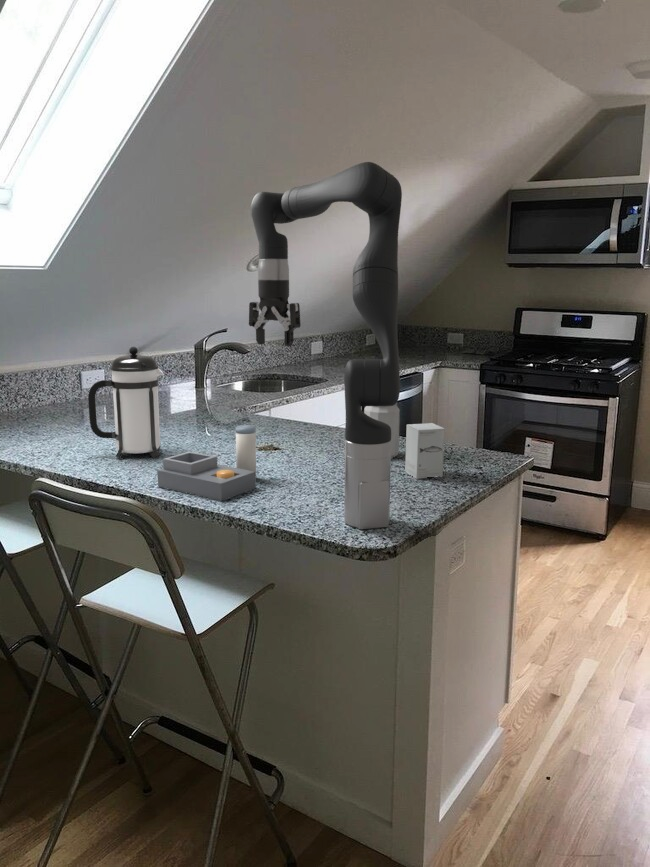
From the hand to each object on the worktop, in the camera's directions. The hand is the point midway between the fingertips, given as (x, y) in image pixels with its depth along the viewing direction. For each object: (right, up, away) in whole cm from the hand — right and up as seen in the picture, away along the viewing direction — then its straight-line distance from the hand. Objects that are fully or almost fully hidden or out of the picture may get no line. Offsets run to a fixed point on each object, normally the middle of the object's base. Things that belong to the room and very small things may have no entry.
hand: (274, 345), depth 183 cm
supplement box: (+37, -33, +3) cm, 50 cm away
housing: (-15, -35, -8) cm, 39 cm away
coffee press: (-41, -28, +23) cm, 54 cm away
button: (-10, -35, -12) cm, 38 cm away
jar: (+28, -28, +21) cm, 45 cm away
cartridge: (-7, -33, -1) cm, 34 cm away
